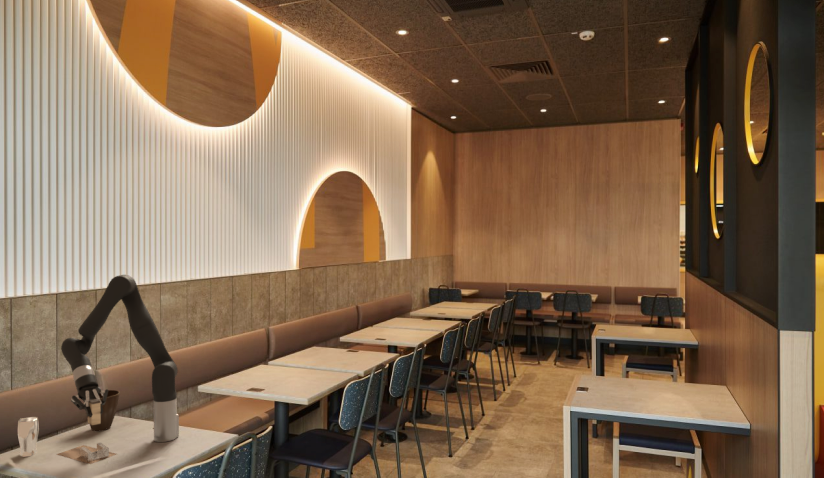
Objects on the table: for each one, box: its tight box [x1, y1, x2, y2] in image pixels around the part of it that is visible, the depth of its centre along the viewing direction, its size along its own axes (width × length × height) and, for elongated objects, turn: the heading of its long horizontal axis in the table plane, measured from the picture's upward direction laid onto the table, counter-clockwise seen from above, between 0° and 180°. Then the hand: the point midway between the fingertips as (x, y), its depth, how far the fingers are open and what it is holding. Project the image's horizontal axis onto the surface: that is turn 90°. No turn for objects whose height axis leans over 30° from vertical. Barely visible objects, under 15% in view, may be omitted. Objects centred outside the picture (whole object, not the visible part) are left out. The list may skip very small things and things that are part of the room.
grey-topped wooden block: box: [87, 398, 101, 425], centre depth 218 cm, size 5×3×9 cm, turn 48°
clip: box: [80, 442, 110, 462], centre depth 217 cm, size 9×7×3 cm
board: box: [56, 444, 117, 465], centre depth 220 cm, size 11×22×1 cm, turn 63°
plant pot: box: [82, 389, 121, 432], centre depth 253 cm, size 15×15×16 cm
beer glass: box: [17, 416, 40, 458], centre depth 221 cm, size 7×7×15 cm
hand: (96, 415), depth 216 cm, fingers closed on grey-topped wooden block, 3 cm apart
